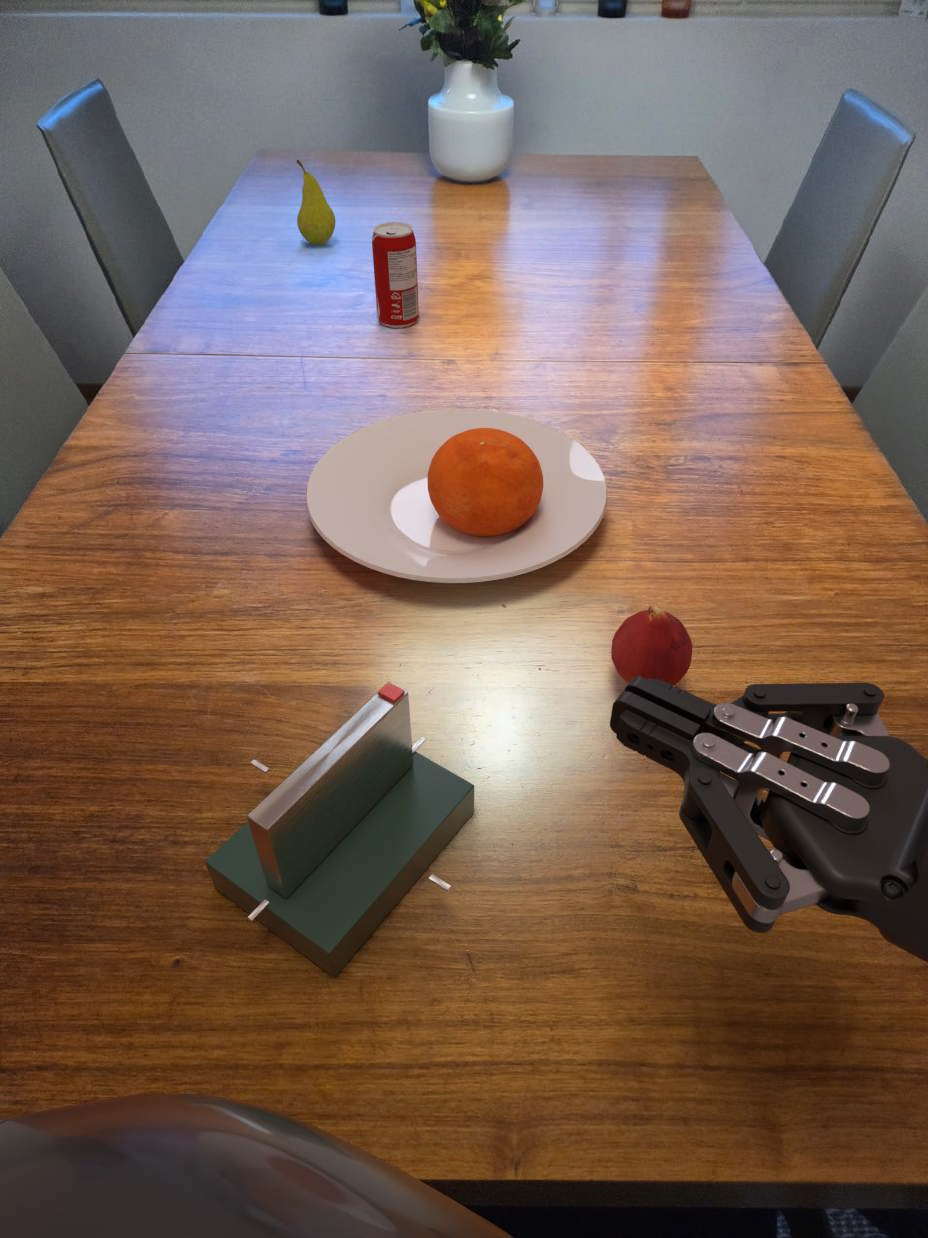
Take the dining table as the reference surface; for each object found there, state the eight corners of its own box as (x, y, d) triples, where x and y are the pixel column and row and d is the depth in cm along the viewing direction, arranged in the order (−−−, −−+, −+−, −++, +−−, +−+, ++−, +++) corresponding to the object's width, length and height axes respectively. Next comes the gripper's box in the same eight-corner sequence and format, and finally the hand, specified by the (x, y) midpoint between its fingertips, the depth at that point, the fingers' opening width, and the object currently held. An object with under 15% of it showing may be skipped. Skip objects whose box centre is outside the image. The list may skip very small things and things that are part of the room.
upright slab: (286, 899, 50) (266, 827, 46) (266, 885, 51) (244, 812, 46) (413, 764, 58) (408, 689, 53) (395, 753, 58) (388, 678, 53)
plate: (247, 530, 82) (230, 451, 76) (434, 410, 98) (431, 337, 92) (489, 658, 69) (490, 574, 63) (657, 496, 86) (670, 418, 80)
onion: (668, 655, 69) (685, 577, 64) (694, 708, 65) (715, 630, 60) (597, 664, 69) (608, 586, 63) (619, 719, 64) (633, 640, 59)
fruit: (340, 248, 136) (332, 164, 128) (303, 252, 135) (292, 167, 126) (334, 235, 140) (325, 153, 132) (297, 239, 139) (286, 156, 131)
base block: (363, 1027, 48) (358, 1001, 46) (167, 875, 55) (155, 847, 53) (522, 823, 58) (524, 794, 56) (338, 716, 65) (334, 687, 63)
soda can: (388, 309, 119) (382, 216, 111) (425, 315, 117) (422, 221, 109) (370, 325, 115) (363, 230, 107) (408, 331, 113) (404, 236, 105)
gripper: (1126, 725, 33) (698, 559, 40) (1067, 1017, 25) (546, 743, 32) (1039, 838, 38) (673, 672, 45) (966, 1112, 30) (536, 856, 37)
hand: (621, 702), depth 39 cm, fingers closed
